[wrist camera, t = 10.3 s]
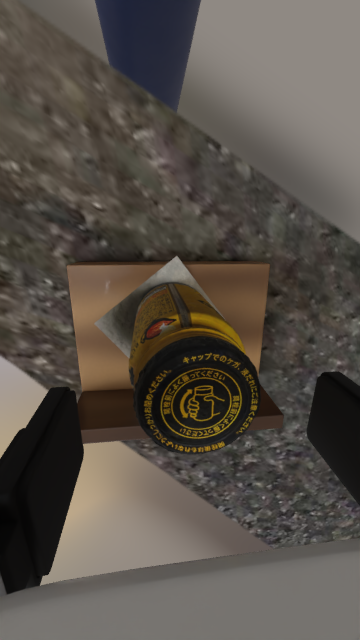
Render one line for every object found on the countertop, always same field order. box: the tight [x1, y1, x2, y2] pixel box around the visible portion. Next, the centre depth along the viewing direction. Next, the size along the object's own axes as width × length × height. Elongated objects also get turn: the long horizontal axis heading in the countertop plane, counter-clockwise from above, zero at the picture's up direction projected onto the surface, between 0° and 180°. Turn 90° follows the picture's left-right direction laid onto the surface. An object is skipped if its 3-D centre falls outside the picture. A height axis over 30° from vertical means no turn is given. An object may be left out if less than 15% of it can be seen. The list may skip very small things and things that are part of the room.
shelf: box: [67, 261, 284, 444], centre depth 21 cm, size 12×16×8 cm
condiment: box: [94, 256, 261, 454], centre depth 16 cm, size 7×8×12 cm
